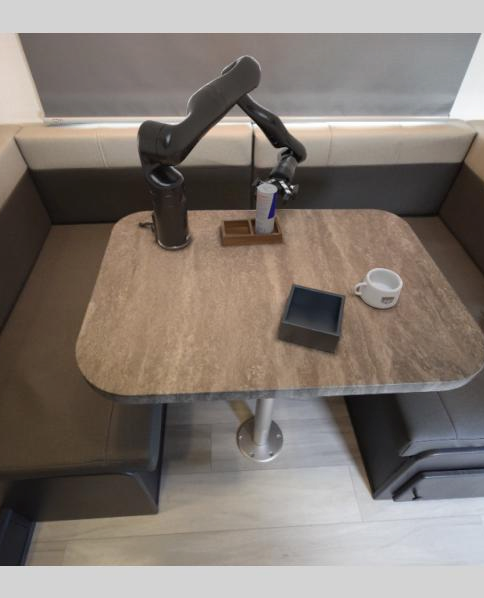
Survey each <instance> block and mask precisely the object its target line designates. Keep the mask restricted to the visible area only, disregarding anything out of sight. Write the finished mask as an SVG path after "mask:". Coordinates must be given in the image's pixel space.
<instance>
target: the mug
mask: <svg viewBox="0 0 484 598" xmlns="http://www.w3.org/2000/svg"><path fill="white" fill-rule="evenodd" d="M403 285H404V283H403V279H402V277H401V276H400V275H399V274H398V273H396V272H395V271H393V270H391V269H388V268H383V267H376V268H373V269H370V270H369V271H368V272H367V273H366V275H365V277H364V279H363V280H362V282H358V283H357V284H355V285H354V286H353V288H352V293H353V294H354V295H356V296H359V297H360V298H361V300H362V301H363V302H364V303H365V304H367V305H368V306H370V307H373V308H374V309H375V308H376V309H379V310H380V309H381V310H385V309H390V308H393V307H394V306H395V305H396V304H397V303H398V300H399V299H400V294H401V292H402V289H403ZM357 289H358V291H357Z"/></svg>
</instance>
